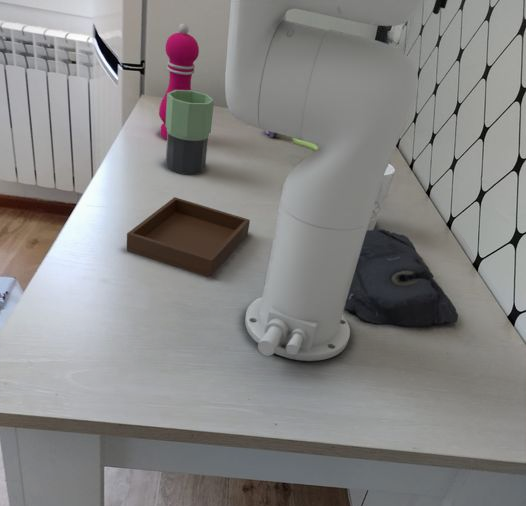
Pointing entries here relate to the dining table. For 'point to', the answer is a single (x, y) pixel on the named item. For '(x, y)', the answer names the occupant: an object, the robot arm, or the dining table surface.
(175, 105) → the top tub
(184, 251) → the tray
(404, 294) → the dark slate chunk
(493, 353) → the dining table surface
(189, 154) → the dark grey tub
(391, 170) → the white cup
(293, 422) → the dining table surface
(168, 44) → the pepper mill
